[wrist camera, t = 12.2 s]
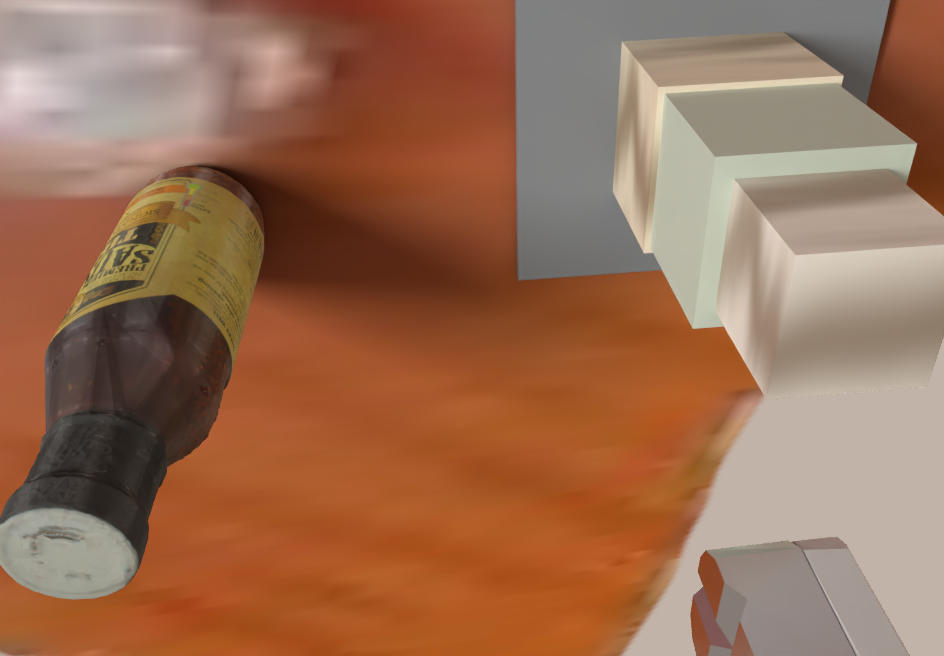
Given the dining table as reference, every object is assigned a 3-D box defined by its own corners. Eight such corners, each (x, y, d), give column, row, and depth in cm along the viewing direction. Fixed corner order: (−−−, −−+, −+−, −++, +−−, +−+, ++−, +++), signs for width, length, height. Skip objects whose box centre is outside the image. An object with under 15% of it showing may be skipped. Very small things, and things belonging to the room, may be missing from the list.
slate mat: (514, -71, 34) (516, -68, 34) (903, -91, 35) (910, -89, 35) (517, 274, 43) (518, 280, 43) (826, 252, 44) (831, 257, 44)
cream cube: (733, 178, 27) (795, 255, 23) (887, 168, 28) (974, 242, 23) (714, 310, 30) (766, 399, 26) (853, 300, 30) (926, 386, 26)
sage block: (664, 93, 32) (715, 157, 27) (835, 82, 32) (917, 143, 27) (650, 247, 35) (692, 328, 31) (804, 236, 36) (871, 315, 31)
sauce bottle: (176, 132, 38) (14, 425, 22) (295, 212, 41) (231, 528, 24) (104, 235, 40) (-92, 568, 24) (220, 304, 43) (115, 648, 27)
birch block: (622, 41, 37) (658, 87, 32) (782, 31, 37) (843, 75, 32) (612, 191, 41) (643, 253, 36) (758, 181, 41) (809, 241, 36)
